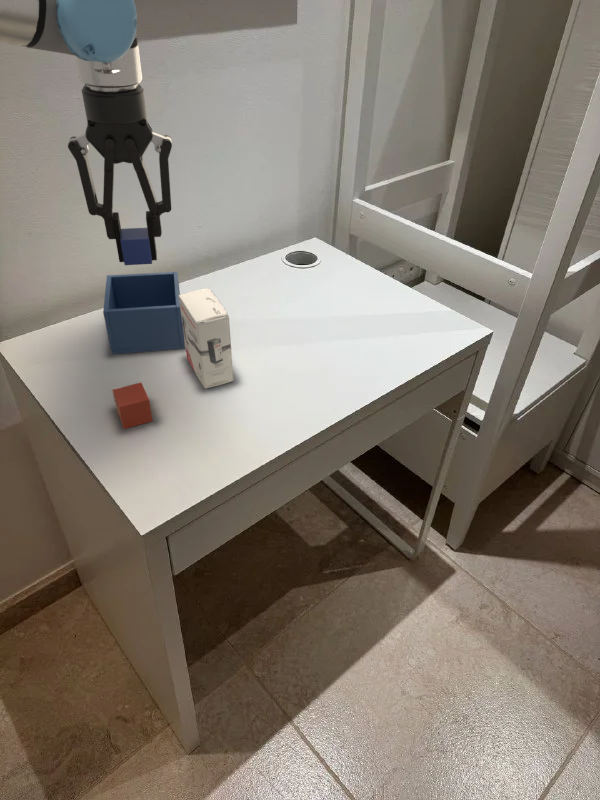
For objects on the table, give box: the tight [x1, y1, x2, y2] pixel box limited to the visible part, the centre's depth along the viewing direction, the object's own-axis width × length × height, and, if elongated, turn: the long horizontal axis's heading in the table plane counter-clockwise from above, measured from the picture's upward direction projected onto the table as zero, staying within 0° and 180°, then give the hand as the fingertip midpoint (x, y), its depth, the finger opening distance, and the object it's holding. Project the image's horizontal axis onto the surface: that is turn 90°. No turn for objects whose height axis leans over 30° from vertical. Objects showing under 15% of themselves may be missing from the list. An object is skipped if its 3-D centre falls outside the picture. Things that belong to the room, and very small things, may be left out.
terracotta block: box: [111, 382, 153, 430], centre depth 79 cm, size 4×4×4 cm
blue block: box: [120, 227, 153, 266], centre depth 86 cm, size 4×4×4 cm
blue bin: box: [102, 271, 186, 355], centre depth 94 cm, size 11×11×8 cm
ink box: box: [179, 287, 234, 389], centre depth 85 cm, size 9×5×12 cm, turn 27°
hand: (138, 256), depth 87 cm, fingers closed on blue block, 4 cm apart
